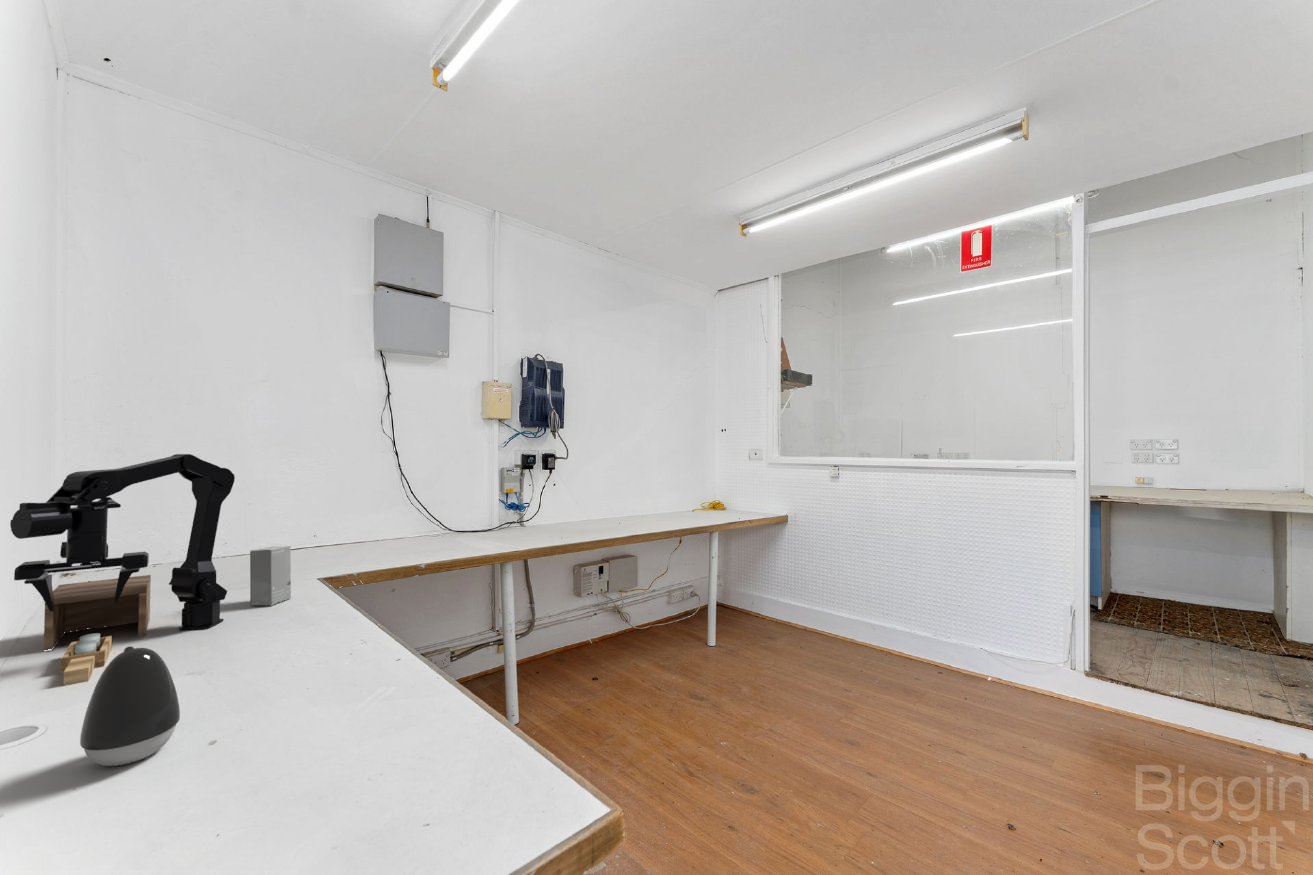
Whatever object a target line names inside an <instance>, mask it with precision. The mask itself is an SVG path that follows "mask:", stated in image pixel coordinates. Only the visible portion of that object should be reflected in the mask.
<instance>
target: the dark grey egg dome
mask: <svg viewBox="0 0 1313 875" xmlns="http://www.w3.org/2000/svg"><path fill="white" fill-rule="evenodd" d="M170 672H171V671H170V670H169V668H168V666H167V664H166V662H165V661H164V660H163V658H162V657H161V656H160V655H159V654H158V653H157V651H155V650H153V649H151V648H146V647H136V648H135V647H133V646H130V645H129V646H127V647H125V648H124V649H123V652H121V653H119V654H118V655H116V656H115V657H114V658H112V659H111V661H110V662H109V663H108V665H106V667H105V668H104V670H103V672H102V673H101V675H100V677H99V678H98V681H97V682H96V684H95V687H94V689H93V692H92V693H91V694H92V695H91V697H90V700H89V702H88V706H87V707H86V712H85V714H84V719H83V722H82V727H81V731H80V736H79V737H80V738H79V744H80V747H81V748H82V749H83V750H84V753H85V755H86V756H87V758H88V759H89V760H90V761H91V762H93V763H94V764H96V765H99V766H103V767H118V766H119V765H120V766H124V764H125V765H129V764H132V762H133V763H135V762H138V761H141V760H143V759H145V758H147V757H150V756H151V755H153V754H155V753H156V752H157V751H159V750H160V749H161V748H163V747H164V746H165V745H166V744H167V743H168V741H169V740H170V739H171V737H172V736H173V733H174V732H175V729H176V727H177V724H178V723H179V721H180V718H181V710H180V703H179V702H180V701H179V698H178V693H177V689H176V686H175V683H174V680H173V677H172V674H171V673H170Z"/></svg>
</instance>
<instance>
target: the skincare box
mask: <svg viewBox="0 0 1313 875" xmlns="http://www.w3.org/2000/svg"><path fill="white" fill-rule="evenodd" d="M249 556H250V557H249V568H250V569H249V572H250V574H249V576H250V577H249V578H250V580H249V581H250V582H249V586H250V588H249V590H250V592H249V594H250V596H249V597H250V599H249V602H250V604H249V605H250V606H255V607H256V606H264V607H265V606H269V607H272V605H273V606H274V604H275V605H277V603H278V602H280V603H283V602H285V601H287V600H290V599H291V598H292V596H291V595H292V589H291V588H292V586H291V583H292V582H291V581H292V578H291V572H292V571H291V563H292V562H291V545H283V546H279V545H278V546H268V547H261V548H257V549H251V550H250V551H249ZM289 598H290V599H289ZM284 600H285V601H284ZM282 601H283V602H282ZM278 604H279V603H278Z"/></svg>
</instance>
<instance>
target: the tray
mask: <svg viewBox="0 0 1313 875" xmlns="http://www.w3.org/2000/svg"><path fill="white" fill-rule="evenodd" d="M112 640H113V638H112V635H108V636H102V637H101V633H99V632H97V633H88V634H85V635H81V636H80V637H79V640H76V641H71V642H70V644H69V645H68V647H67V648H66V650H65V652H64V653H63V655H62V656H61V658H60V674H61V673H64V674H63V686H68V685H73V684H78V683H84V682H88V681H89V680H90V678H91V676H92V673H93V671H94V670H93V669H95V668H94V667H96V668H101V667H105V666H106V663H107V661H106V660H108V659H107V658H109V656H110V654H111V653H112V652H111V651H112V645H113V644H112ZM104 665H105V666H104Z"/></svg>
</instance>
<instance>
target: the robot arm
mask: <svg viewBox="0 0 1313 875" xmlns="http://www.w3.org/2000/svg"><path fill="white" fill-rule="evenodd" d="M177 473H178V474H179V475H180V476H181V477H182V478H183V479H185V480H187V481H189V482H191V492H192V494H193V497H194V499H195V510H194V514H193V521H192V526H191V532H190V536H189V537H190V538H189V541H188V547H187V553H186V558H185V560H184V561H183V563H182V564H181V566H179V567H173V568H172V570H171V571H172V572H171V579H170V581H169V583H168V585H169V586H171V588H170V589H171V592H172V593H173V594H175V596H176V597H177V598H178V601H179V603H183V608H182V609H181V626H179V628H178V630H179V631H185V630H186V631H187V630H200V629H201V630H202V629H204V630H206V629H211V628H212V627H213V626H216V625H218V624H220V623H222V622H224V618H221V617H220V616H221V601H223V600H225V599H226V596H227V593H228V590H227V589H226V588H225V587H224V586H223V587H222V585H220V584H219V583H217V570H216V568H215V565H214V562H213V560H212V558H213V553H214V548H215V547H214V546H215V542H216V535H217V530H218V526H219V520H220V515H221V510H222V509H221V508H222V505H223V502H224V501H225V500H226V499H227V497H228V496H229V495H230V494H231V492H232V489H233V486H234V483H235V479H236V478H235V474H234V473H233V472H232V470H230V469H229V468H226V467H220V466H218V465H217V464H214V463H211V462H208V461H206V460H204V459H201V458H199V457H197V456H196V455H193V454H191V453H175V454H173V455H171V456H167V457H162V458H159V459H154V460H150V461H145V462H139V463H137V464H132V465H128V466H124V467H119V468H111V469H96V470H95V469H93V470H82V471H81V470H80V471H75V472H71V473H69V474H67V476H66V477H65V478H64V479H63V483H62V485H61V487H60V488H58V489H57V491H56V492H55V493H53V495H52V496H50V498H48V499H47V501H45V502H21V503H19V509H18V510H17V511H15V513H14V515H13V516H12V519H11V520H10V524H9V525H10V530H11V533H12V535H13V536H14V537H15V538H17V539H19V540H21V539H24V540H25V539H31V538H38V537H49V536H58V535H63V534H64V533H65V532H66V534H67V535H66V541H61V546H60V550H59V551H60V555H59V557H61V559H65V561H66V562H56V563H51V561H50V559H44V560H35V561H34V560H33V561H24V562H23V563H21V564H19V565H18V566H17V567H15V568H14V571H13V572H14V576H13V580H14V581H24V583H23V584H25V585H27V584H30V585H32V586H33V587H34V588H35V589H36V591H37V592H38V593H39V595H40V597H42V599H43V602H44V604H45V603H46V605H47V607H48V609H49V610H50V611H53V610H54V597H53V591H54V589H53V576H52V575H53V574H51V573H62V572H63V573H64V572H72V571H82V570H83V571H84V570H93V569H104V568H113V567H121V568H120V569H119V570H120V571H119V574H118V583H117V588H116V593H115V603H117V602H118V600H119V598H120V595H121V593H122V591H123V588H124V586H125V584H126V582H127V581H128V579H129V577H132V576H131V575H132V574H134V573H140V570H141V569H143V568H148V565H149V564H150V563H149V557H150V555H149V553H148V552H146V551H137V552H136V551H135V552H125V553H123V555H122V556H121V557H111V558H109V544H108V539H107V538H108V513H109V511H108V509H117V508H118V509H119V508H121V506H122V505H121V503H119V502H116V501H115V500H114V499H113V498H112V497H110V496H112V495H114V494H118V493H119V492H122V491H123V490H124V489H126V488H128V487H129V486H132V485H134V484H135V485H136V484H138V483H143V482H147V481H150V480H155V479H158V478H162V477H166V476H169V475H173V474H177ZM96 500H97V501H96ZM72 506H73V507H72ZM78 564H79V565H78Z"/></svg>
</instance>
